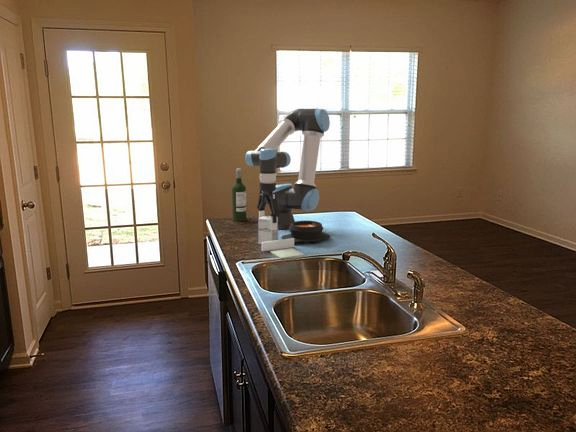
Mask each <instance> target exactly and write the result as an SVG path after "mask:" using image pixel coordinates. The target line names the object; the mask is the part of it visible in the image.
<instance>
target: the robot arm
mask: <svg viewBox="0 0 576 432" xmlns="http://www.w3.org/2000/svg"><path fill="white" fill-rule="evenodd" d="M330 125H331V121H330V116H329V113H328V111H327V110H326V109H324V108H317V107H315V108H297V109H294V110H292V111H290V112H288V113H287V114H286V115H285V116H283V117H282V118H281V120H280V121H279V123H278V125H277V126H276V127H275V129H274V130H272V131H271V133H270V134H269V135H268V136H267V137H266V138H265V139H264V140H263V141H262V142H261V143H260V144H259V145H258V147H257V148H255V150H248V151H247V152H246V154H245V157H244V159H245V163H246V164H247V166H250V167H258V168H259V175H258V178H259V196H258V200H257V205H256V209H258V219H259V218H260V217H263V216H266V211H265V210H266V205H268V207H269V210H270V213H269V216H271V230H277V217H278V230H288V229H289V227H290V225H291V223H292V222H296V220H295V218H294V215H293V210H297V211H303V212H304V211H305V212H306V211H311V212H312V211H313V210H315V209H316V207H317V206H318V204H319V201H320V191H319V190H318V189H317V185H316V184H315V178H316V172H317V163H318V160H319V159H318V158H319V150H320V142H321V138H323V137H324V136H325V132H328V131H329V129H330ZM298 131H301V134H302V135H303V137H304V138H303V142H302V151H301V157H300V165H299V169H298V170H299V171H298V177H297V178H298V179H297V181H296V182H295V183H294V186H293V184H292V183H281V184H277V182H276V181H277V169H281V168H286V167H288V166H289V165H290V164H291V156H290V154H289V152H286V151H277V149H278V148H279V147H280V146H281V145H282V143H284V141H286V140H287V138H288V137H289V136H291V135H293V134H294V133H295V132H298ZM289 230H290V229H289Z"/></svg>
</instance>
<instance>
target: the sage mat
mask: <svg viewBox="0 0 576 432" xmlns="http://www.w3.org/2000/svg"><path fill="white" fill-rule="evenodd" d="M269 252H270V254H272V255H274V256H276V257H277V258H279V259H281V260H282V259H290V258H296V257H302V256H303V257H304V253H302V252H300V251H298V250H297V249H294V247H291V248H284V249H276V250H269Z"/></svg>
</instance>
